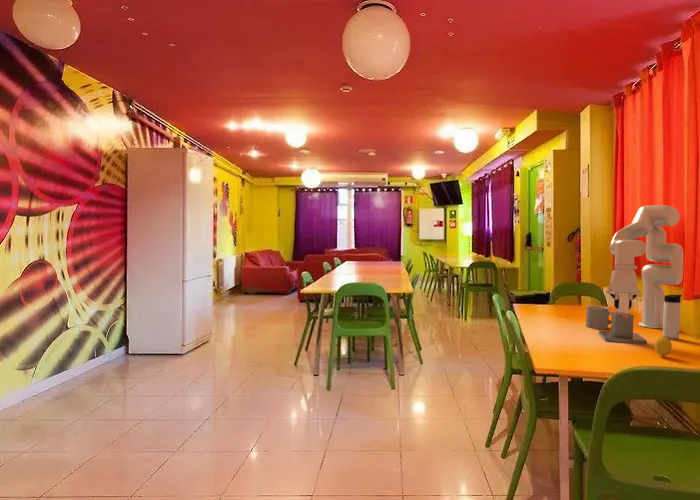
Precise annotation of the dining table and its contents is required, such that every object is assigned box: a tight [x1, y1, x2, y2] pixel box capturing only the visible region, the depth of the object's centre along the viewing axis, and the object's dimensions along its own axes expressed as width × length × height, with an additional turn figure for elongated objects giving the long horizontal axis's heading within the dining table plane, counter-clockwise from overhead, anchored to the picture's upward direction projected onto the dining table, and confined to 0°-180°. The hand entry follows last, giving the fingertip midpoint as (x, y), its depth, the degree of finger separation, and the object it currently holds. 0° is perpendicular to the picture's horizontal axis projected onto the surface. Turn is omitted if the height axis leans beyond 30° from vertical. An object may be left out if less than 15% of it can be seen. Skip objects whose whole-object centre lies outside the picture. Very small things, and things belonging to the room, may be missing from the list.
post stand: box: [598, 311, 648, 345], centre depth 221 cm, size 16×16×12 cm
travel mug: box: [662, 294, 682, 341], centre depth 223 cm, size 6×7×20 cm
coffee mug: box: [585, 305, 613, 330], centre depth 247 cm, size 13×10×10 cm
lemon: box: [654, 335, 673, 358], centre depth 190 cm, size 6×6×8 cm
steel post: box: [616, 294, 630, 315], centre depth 221 cm, size 4×4×18 cm
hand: (622, 308), depth 221 cm, fingers closed on steel post, 4 cm apart
